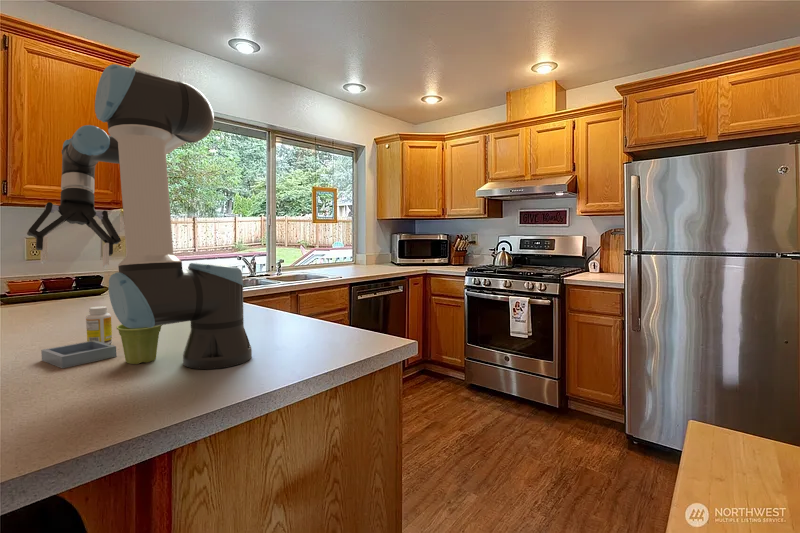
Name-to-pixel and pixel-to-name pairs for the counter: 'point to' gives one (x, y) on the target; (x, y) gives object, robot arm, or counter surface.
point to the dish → (78, 353)
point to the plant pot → (139, 343)
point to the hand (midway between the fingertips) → (75, 264)
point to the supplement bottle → (99, 325)
